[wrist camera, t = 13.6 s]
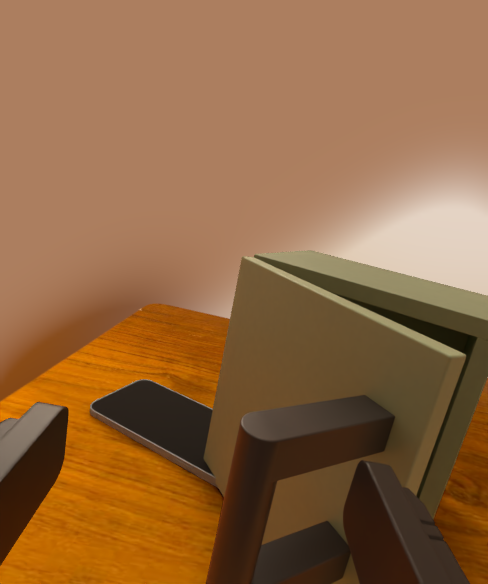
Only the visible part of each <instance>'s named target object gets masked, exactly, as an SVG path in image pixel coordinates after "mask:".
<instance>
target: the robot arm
mask: <svg viewBox="0 0 488 584" xmlns="http://www.w3.org/2000/svg"><path fill="white" fill-rule="evenodd" d="M67 424H68V408H67V407H64V406H58V405H53V404H47V403H41V402H37V403H35V404H34V405H33V406H32V407H31V408H30V409H29V410H28V411H27V412H26V413H25V414H24V415H23V416H22V417H21V418H20V419H14V418H8V419H6V420H4V421H2V422H0V565H1V564H2V562H3V561H4V559H5V558H6V556H7V555H8V553H9V552H10V550H11V549H12V547H13V546H14V544H15V542H16V541H17V539H18V538H19V536H20V535H21V533H22V532H23V530H24V529H25V527H26V526H27V524H28V523H29V521H30V520H31V518H32V517H33V515H34V513H35V512H36V510H37V509H38V507H39V506H40V504H41V503H42V501H43V500H44V498H45V497H46V495H47V494H48V492H49V491H50V489H51V488H52V486H53V484H54V483H55V481H56V479H57V478H58V475H59V473H60V470H61V468H62V464H63V461H64V455H65V445H66V434H67ZM343 527H344V532H345V535H346V539H347V542H348V546H349V549H350V552H351V556H352V559H353V563H354V566H355V569H356V573H357V576H358V580H359V583H360V584H470V583H469V581H468V579H467V578H466V576H465V574H464V572H463V571H462V569H461V567H460V566H459V564H458V562H457V560H456V559H455V557H454V555H453V553H452V552H451V550H450V548H449V546H448V545H447V543H446V542H444V540H443V536H442V534H441V533H440V531H439V529H438V527H437V526H435V522H434V520H433V519H432V517H431V515H430V513H429V512H428V510H427V508H426V506H425V505H424V504H423V503H422V502H421V501H420V500H419V499H418V498H417V497H416V495H415V494H414V493H413V492H412V491H411V490H410V489H409V488H405V487H402V486H401V484H400V482H399V480H398V478H397V476H396V474H395V473H394V471H393V469H392V467H391V466H390V465H387V464H382V463H376V462H370V461H365V460H361V461H360V462H359V463H358V465H357V467H356V470H355V474H354V477H353V480H352V483H351V486H350V489H349V492H348V495H347V498H346V502H345V505H344V510H343Z"/></svg>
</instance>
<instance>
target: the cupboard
mask: <svg viewBox="0 0 488 584" xmlns="http://www.w3.org/2000/svg"><path fill="white" fill-rule="evenodd" d="M254 258H256V259H259V260H261V261H263V262H265V263H267V264H269V265H272V266H274V267H276V268H278V269H280V270H283V271H285V272H287V273H289V274H291V275H293V276H296V277H298V278H300V279H302V280H304V281H307V282H309V283H311V284H313V285H315V286H317V287H320V288H322V289H324V290H326V291H328V292H331V293H333V294H335V295H337V296H339V297H341V298H344V299H346V300H348V301H350V302H352V303H355V304H357V305H359V306H361V307H363V308H365V309H368V310H370V311H372V312H374V313H376V314H378V315H381V316H383V317H385V318H387V319H389V320H392V321H394V322H396V323H398V324H400V325H402V326H405V327H407V328H409V329H411V330H413V331H416V332H418V333H420V334H422V335H424V336H426V337H429V338H431V339H433V340H435V341H437V342H440V343H442V344H444V345H446V346H448V347H450V348H453V349H455V350H457V351H459V352H461V353H464V354H465V355H466V359H465V362H464V365H463V367H462V370H461V373H460V376H459V378H458V381H457V384H456V387H455V390H454V392H453V395H452V398H451V401H450V403H449V406H448V409H447V412H446V414H445V417H444V420H443V423H442V425H441V428H440V431H439V434H438V436H437V439H436V442H435V445H434V448H433V450H432V453H431V456H430V459H429V461H428V464H427V467H426V470H425V472H424V475H423V478H422V481H421V483H420V486H419V489H418V492H417V495H416V497H417V498H418V499H419V500H420V501H421V502H422V503H423V504H424V505H425V506H426V508H427V510H428V512H429V513H430V515H431V517H432V519H434V516H435V513H436V511H437V508H438V506H439V503H440V500H441V498H442V495H443V493H444V490H445V487H446V485H447V482H448V479H449V477H450V474H451V472H452V469H453V466H454V464H455V461H456V459H457V456H458V453H459V451H460V448H461V445H462V443H463V440H464V438H465V435H466V432H467V430H468V427H469V425H470V422H471V419H472V417H473V414H474V411H475V409H476V406H477V404H478V401H479V398H480V396H481V393H482V391H483V388H484V385H485V383H486V380H487V377H488V296H486V295H482V294H478V293H475V292H471V291H467V290H463V289H459V288H455V287H451V286H447V285H444V284H440V283H436V282H432V281H428V280H424V279H420V278H416V277H412V276H408V275H405V274H401V273H397V272H393V271H389V270H385V269H381V268H377V267H373V266H369V265H366V264H361V263H358V262H353V261H350V260H346V259H342V258H338V257H334V256H331V255H327V254H323V253H319V252H315V251H296V252H282V253H266V254H255V255H254Z"/></svg>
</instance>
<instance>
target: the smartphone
mask: <svg viewBox="0 0 488 584" xmlns="http://www.w3.org/2000/svg"><path fill="white" fill-rule="evenodd" d="M212 412H213V409H212V408H209V407H207V406H205V405H203V404H201V403H199V402H197V401H194V400H192V399H190V398H188V397H186V396H184V395H181V394H179V393H177V392H175V391H173V390H171V389H169V388H166V387H164V386H162V385H160V384H158V383H156V382H154V381H151V380H145V379H143V380H137V381H135V382H133V383H131V384H129V385H127V386H125V387H123V388H120V389H118V390H116V391H114V392H112V393H110V394H108V395H106V396H104V397H102V398H100V399H98V400H95V401H94V402H92V403H91V405H90V414H91V415H92V416H93V417H95V418H97V419H98V420H100V421H102V422H104V423H105V424H107V425H109V426H110V427H112V428H114V429H116V430H117V431H119V432H121V433H123V434H124V435H126V436H128V437H130V438H131V439H133V440H135V441H137V442H138V443H140V444H142V445H144V446H145V447H147V448H149V449H151V450H152V451H154V452H156V453H158V454H159V455H161V456H163V457H165V458H166V459H168V460H170V461H172V462H173V463H175V464H177V465H179V466H180V467H182V468H184V469H186V470H187V471H189V472H191V473H193V474H194V475H196V476H198V477H200V478H201V479H203V480H205V481H207V482H208V483H210V484H212V485H214V486H215V487H217V485H216V483H215V481H216V478H215V476H214V475H213V473H212V472H211V470H210V468H209V467H208V465H207V463H206V462H205V460H204V454H205V448H206V443H207V438H208V433H209V428H210V422H211V417H212ZM217 488H218V487H217Z"/></svg>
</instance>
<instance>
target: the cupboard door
mask: <svg viewBox="0 0 488 584" xmlns="http://www.w3.org/2000/svg"><path fill="white" fill-rule="evenodd" d="M465 359H466V355H465V354H464V353H461V352H459V351H457V350H455V349H453V348H450V347H448V346H446V345H444V344H442V343H440V342H437V341H435V340H433V339H431V338H429V337H426V336H424V335H422V334H420V333H418V332H416V331H413V330H411V329H409V328H407V327H405V326H402V325H400V324H398V323H396V322H394V321H392V320H389V319H387V318H385V317H383V316H381V315H378V314H376V313H374V312H372V311H370V310H368V309H365V308H363V307H361V306H359V305H357V304H355V303H352V302H350V301H348V300H346V299H344V298H341V297H339V296H337V295H335V294H333V293H331V292H328V291H326V290H324V289H322V288H320V287H317V286H315V285H313V284H311V283H309V282H307V281H304V280H302V279H300V278H298V277H296V276H293V275H291V274H289V273H287V272H285V271H283V270H280V269H278V268H276V267H274V266H272V265H269V264H267V263H265V262H263V261H261V260H259V259H256V258H254V257H242V260H241V265H240V270H239V276H238V281H237V286H236V292H235V297H234V302H233V307H232V312H231V318H230V323H229V328H228V333H227V338H226V344H225V349H224V354H223V359H222V365H221V370H220V375H219V380H218V386H217V391H216V396H215V401H214V407H213V412H212V417H211V422H210V428H209V433H208V438H207V443H206V448H205V454H204V460H205V462H206V463H207V465H208V467H209V468H210V470H211V472H212V473H213V475H214V476H215V478H216V481H215V483H216V485H217V487H218V488H219V490H220V492H221V493H222V495H223V497H224V501H223V506H222V510H221V515H220V520H219V524H218V529H217V534H216V538H215V543H214V548H213V553H212V557H211V562H210V567H209V571H208V576H207V581H206V584H360V583H359V580H358V576H357V573H356V569H355V566H354V563H353V559H352V556H351V552H350V549H349V546H348V542H347V539H346V535H345V532H344V527H343V510H344V505H345V502H346V498H347V495H348V492H349V489H350V486H351V483H352V480H353V477H354V474H355V470H356V467H357V465H358V463H359V462H360V461H361V460H365V461H370V462H376V463H382V464H387V465H390V466H391V467H392V469H393V471H394V473H395V474H396V476H397V478H398V480H399V482H400V484H401V486H402V487H405V488H409V489H410V490H411V491H412V492H413V493H414V494H415V495H417V492H418V489H419V486H420V483H421V481H422V478H423V475H424V472H425V470H426V467H427V464H428V461H429V459H430V456H431V453H432V450H433V448H434V445H435V442H436V439H437V436H438V434H439V431H440V428H441V425H442V423H443V420H444V417H445V414H446V412H447V409H448V406H449V403H450V401H451V398H452V395H453V392H454V390H455V387H456V384H457V381H458V378H459V376H460V373H461V370H462V367H463V365H464V362H465Z"/></svg>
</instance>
